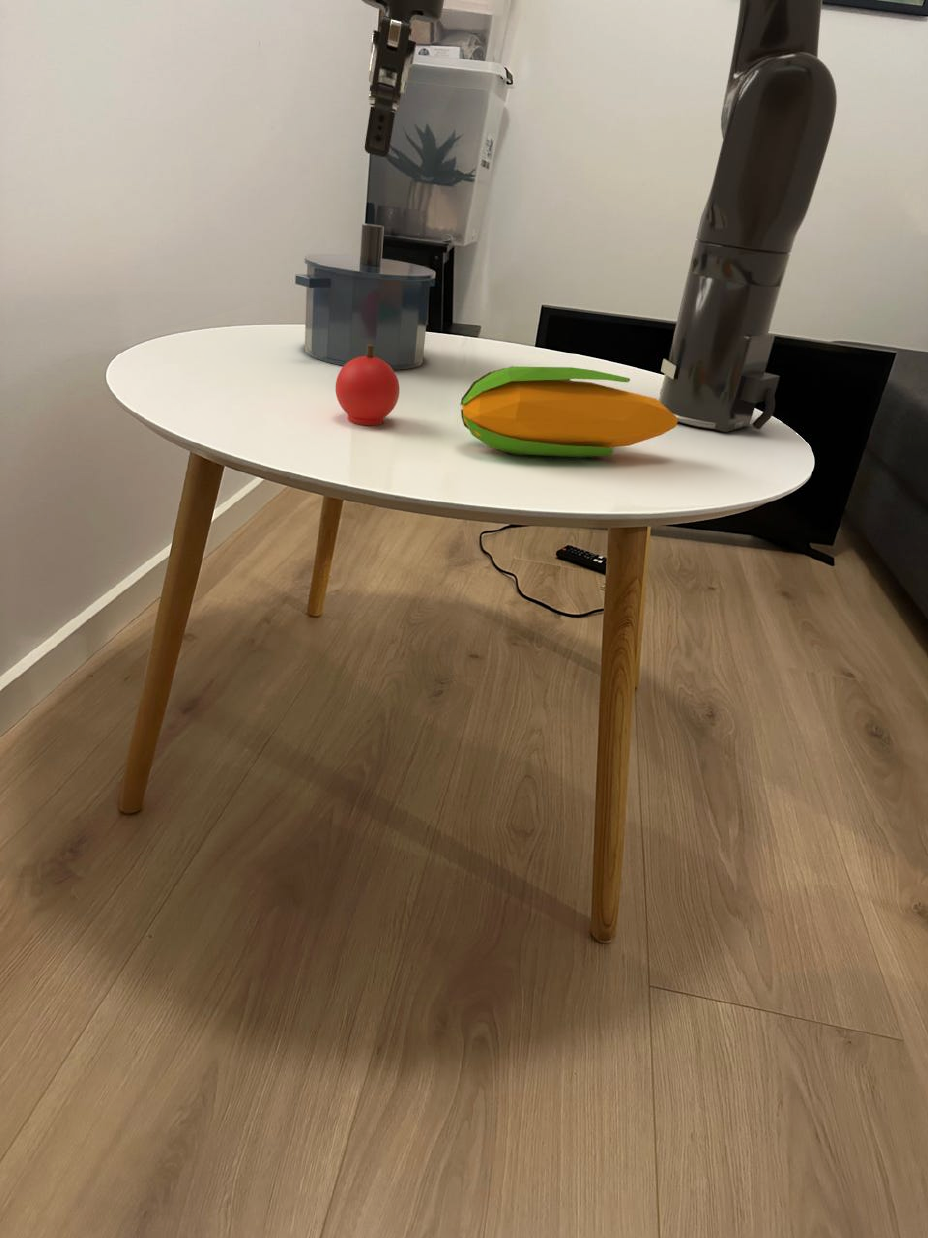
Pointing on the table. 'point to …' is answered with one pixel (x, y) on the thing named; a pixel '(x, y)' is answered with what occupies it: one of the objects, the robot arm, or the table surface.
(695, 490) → the table surface
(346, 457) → the table surface
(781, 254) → the robot arm
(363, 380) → the apple
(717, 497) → the table surface
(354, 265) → the pot lid
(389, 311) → the pot
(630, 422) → the corn
